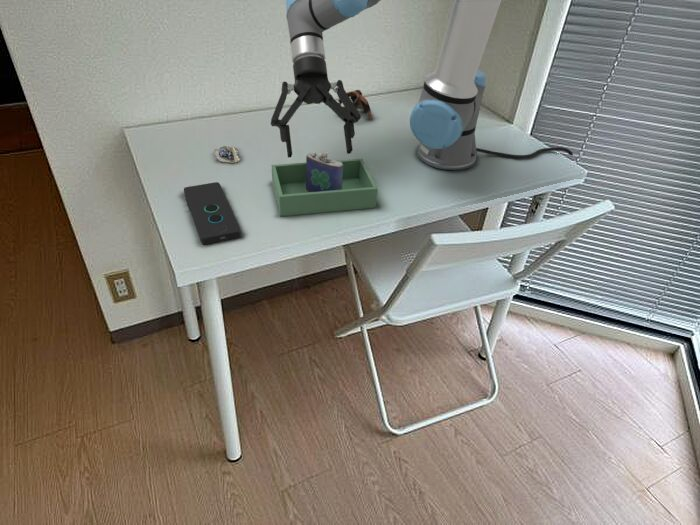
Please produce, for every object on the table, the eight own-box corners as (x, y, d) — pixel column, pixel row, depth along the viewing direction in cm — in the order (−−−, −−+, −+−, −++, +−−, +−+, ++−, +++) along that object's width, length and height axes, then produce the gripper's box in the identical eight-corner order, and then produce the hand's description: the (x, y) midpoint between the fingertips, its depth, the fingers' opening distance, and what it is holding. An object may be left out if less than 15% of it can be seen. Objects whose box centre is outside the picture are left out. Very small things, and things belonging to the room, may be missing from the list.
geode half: (231, 146, 133) (231, 139, 132) (248, 158, 129) (248, 151, 128) (208, 153, 130) (207, 146, 129) (225, 166, 125) (224, 159, 124)
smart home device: (200, 238, 100) (182, 187, 114) (201, 245, 101) (183, 193, 115) (241, 230, 103) (219, 181, 117) (242, 237, 104) (220, 187, 118)
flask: (343, 197, 117) (345, 155, 110) (337, 203, 115) (338, 160, 108) (309, 185, 120) (309, 143, 113) (302, 191, 118) (302, 149, 111)
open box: (360, 176, 125) (362, 158, 122) (376, 207, 115) (378, 188, 112) (272, 183, 121) (271, 164, 117) (280, 216, 111) (279, 196, 107)
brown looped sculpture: (373, 125, 148) (361, 103, 143) (343, 135, 152) (331, 114, 146) (375, 99, 155) (364, 77, 150) (347, 109, 159) (335, 88, 153)
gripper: (358, 68, 122) (369, 155, 121) (253, 71, 117) (263, 162, 116) (366, 53, 115) (378, 145, 114) (253, 55, 110) (264, 152, 108)
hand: (320, 154), depth 115 cm, fingers open, 13 cm apart
